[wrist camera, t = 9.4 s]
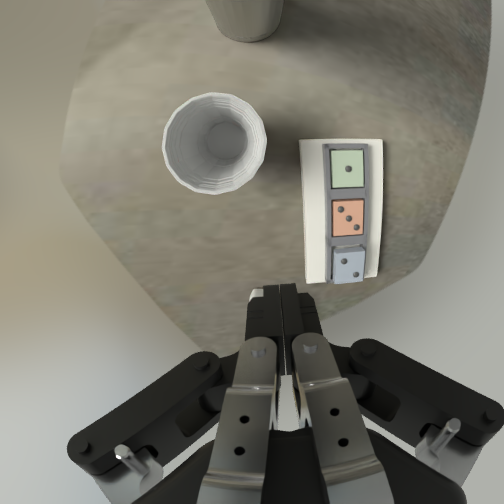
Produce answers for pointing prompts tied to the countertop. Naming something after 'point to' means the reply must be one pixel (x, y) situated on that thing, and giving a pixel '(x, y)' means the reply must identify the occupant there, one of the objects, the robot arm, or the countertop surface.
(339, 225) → the key three
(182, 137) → the plastic cup
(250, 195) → the countertop surface
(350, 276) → the key two
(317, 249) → the keypad
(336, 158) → the key one
